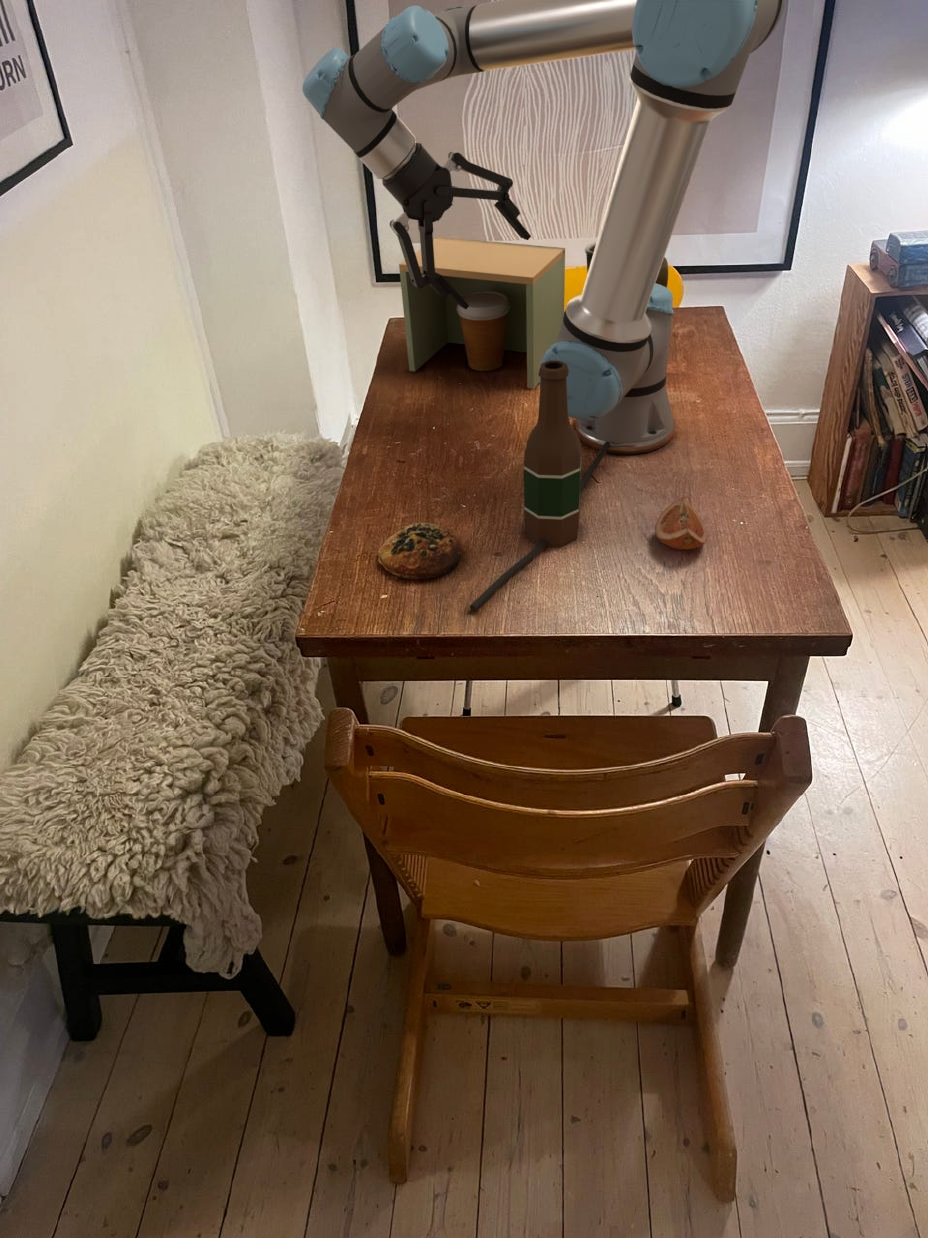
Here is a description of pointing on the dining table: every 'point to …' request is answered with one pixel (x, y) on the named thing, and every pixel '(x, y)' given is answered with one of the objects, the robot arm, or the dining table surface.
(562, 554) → the dining table surface
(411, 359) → the cabinet
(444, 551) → the bread roll
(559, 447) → the beer bottle
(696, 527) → the fruit slice
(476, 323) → the disposable coffee cup
